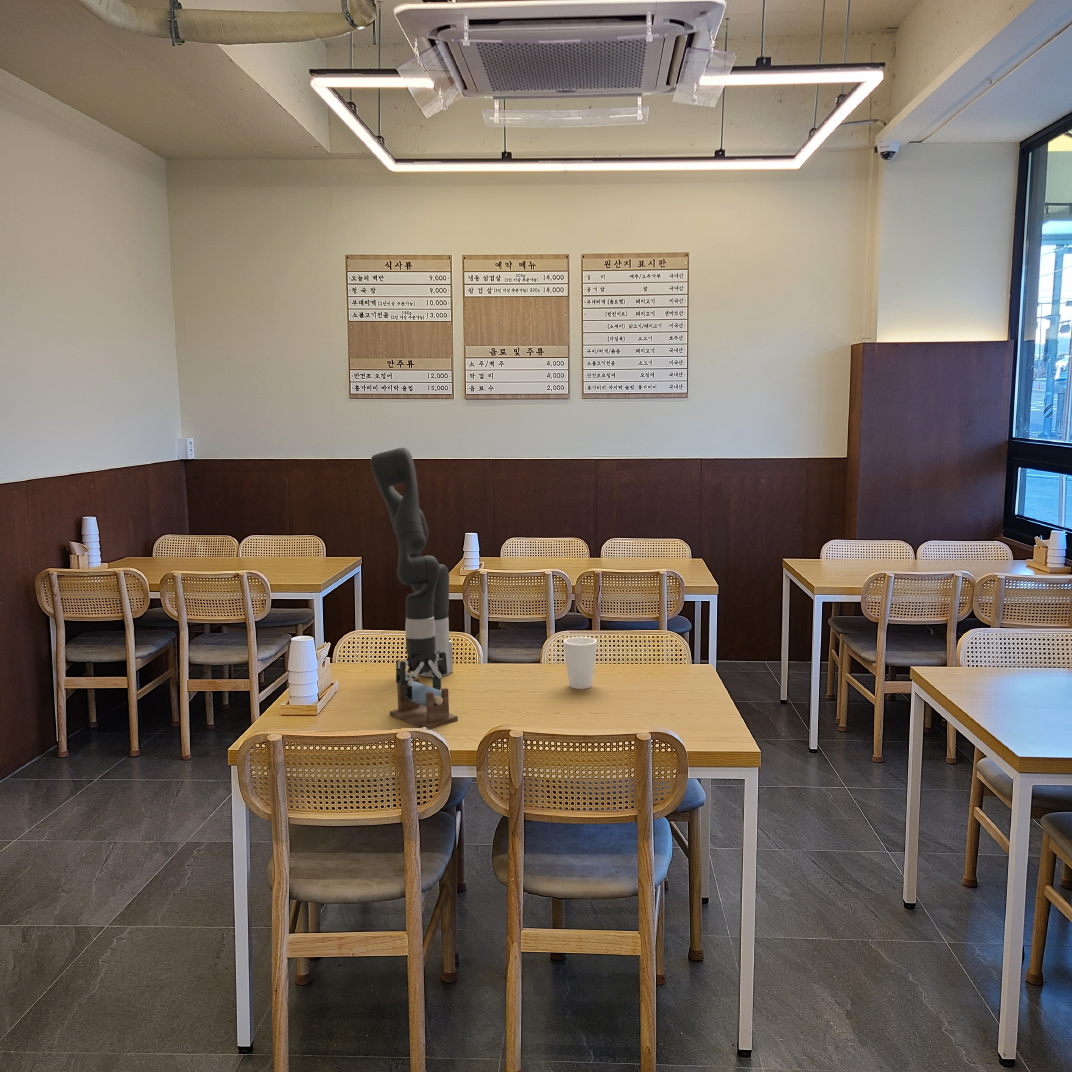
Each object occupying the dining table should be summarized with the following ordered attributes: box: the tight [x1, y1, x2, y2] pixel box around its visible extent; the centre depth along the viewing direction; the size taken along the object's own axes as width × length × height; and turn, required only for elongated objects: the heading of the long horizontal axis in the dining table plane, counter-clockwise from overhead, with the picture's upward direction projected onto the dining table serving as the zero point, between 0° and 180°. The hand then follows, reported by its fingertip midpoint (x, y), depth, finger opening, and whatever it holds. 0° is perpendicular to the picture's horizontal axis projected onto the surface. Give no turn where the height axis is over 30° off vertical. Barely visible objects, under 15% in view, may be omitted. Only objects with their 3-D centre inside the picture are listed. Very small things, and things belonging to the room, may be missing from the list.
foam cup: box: [563, 636, 598, 690], centre depth 264 cm, size 10×9×13 cm
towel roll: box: [410, 681, 443, 706], centre depth 239 cm, size 14×5×5 cm, turn 42°
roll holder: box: [389, 677, 459, 729], centre depth 239 cm, size 16×10×8 cm, turn 42°
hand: (422, 695), depth 239 cm, fingers open, 8 cm apart
